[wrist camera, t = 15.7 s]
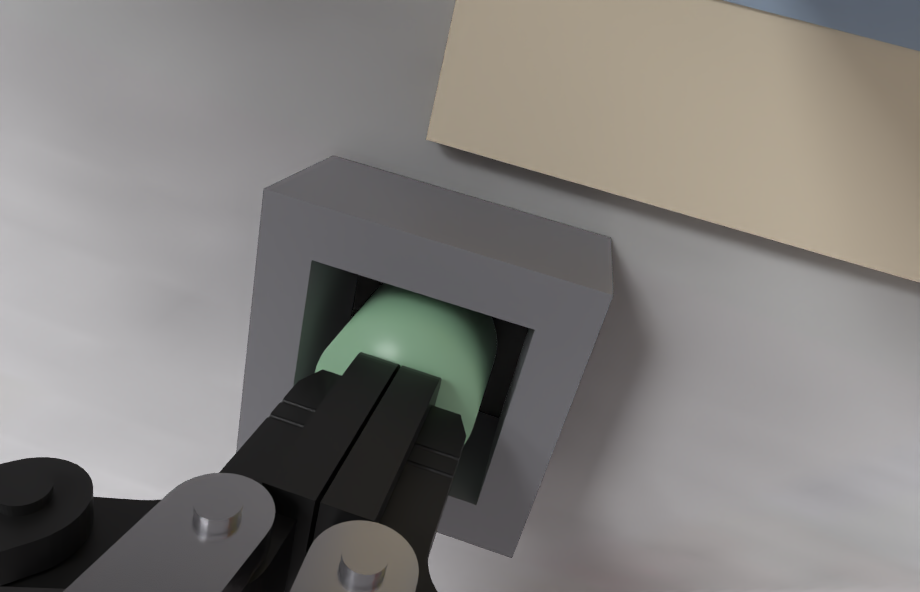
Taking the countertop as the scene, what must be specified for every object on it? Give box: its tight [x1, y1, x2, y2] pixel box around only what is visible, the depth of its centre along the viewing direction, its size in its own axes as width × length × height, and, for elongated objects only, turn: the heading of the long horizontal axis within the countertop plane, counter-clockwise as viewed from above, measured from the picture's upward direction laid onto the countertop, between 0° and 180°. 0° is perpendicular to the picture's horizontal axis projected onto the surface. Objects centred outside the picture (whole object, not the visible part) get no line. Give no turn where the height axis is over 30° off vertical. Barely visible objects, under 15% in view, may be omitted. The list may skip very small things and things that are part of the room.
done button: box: [315, 283, 497, 444], centre depth 12 cm, size 3×3×2 cm
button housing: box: [236, 156, 614, 558], centre depth 13 cm, size 6×6×3 cm
